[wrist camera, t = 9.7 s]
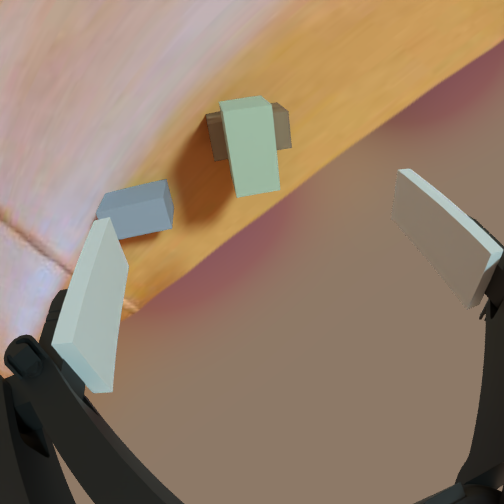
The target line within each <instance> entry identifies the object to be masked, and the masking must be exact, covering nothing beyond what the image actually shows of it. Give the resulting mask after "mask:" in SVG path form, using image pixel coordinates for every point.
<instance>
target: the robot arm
mask: <svg viewBox="0 0 504 504" xmlns="http://www.w3.org/2000/svg"><path fill="white" fill-rule="evenodd" d="M391 220H392V221H393V222H394V223H395V224H396V225H397V226H398V227H399V228H400V229H401V230H402V232H403V233H404V234H405V235H406V236H407V237H408V238H409V239H410V241H411V242H412V243H413V244H414V245H415V246H416V247H417V249H418V250H419V251H420V252H421V253H422V254H423V256H424V257H425V258H426V259H427V260H428V262H429V263H430V264H431V265H432V266H433V267H434V269H435V270H436V271H437V272H438V274H439V275H440V276H441V277H442V279H443V280H444V281H445V282H446V284H447V285H448V286H449V288H450V289H451V290H452V291H453V293H454V294H455V295H456V296H457V298H458V299H459V300H460V302H461V303H462V305H463V306H464V307H465V308H466V309H467V310H468V309H470V308H472V307H475V306H477V305H479V304H480V302H481V300H482V298H483V296H484V294H486V295H487V297H488V298H489V299H488V301H487V303H486V305H485V307H484V309H483V311H482V313H481V314H480V317H479V319H482V317H483V315H484V314H486V318H485V321H486V334H485V353H484V366H483V377H482V386H481V394H480V401H479V408H478V414H477V420H476V425H475V431H474V436H473V440H472V445H471V450H470V454H469V457H468V458H467V460H466V462H465V463H464V465H463V466H462V468H461V470H460V472H459V474H458V476H457V479H456V482H455V485H453V486H451V487H449V488H447V489H445V490H443V491H440V492H438V493H436V494H434V495H432V496H429V497H427V498H425V499H423V500H421V501H418V502H416V503H414V504H504V246H503V245H502V244H501V243H500V242H499V241H498V240H497V239H496V238H495V237H494V236H493V235H492V234H489V232H488V231H487V230H486V229H485V228H483V226H482V225H481V224H480V223H479V222H478V221H476V220H475V219H473V218H472V217H470V216H468V215H466V214H465V213H464V212H463V211H462V210H461V209H459V208H458V207H457V206H456V205H455V204H453V203H452V202H451V201H450V200H449V199H447V198H446V197H445V196H444V195H443V194H442V193H440V192H439V191H438V190H437V189H436V188H434V187H433V186H432V185H431V184H429V183H428V182H427V181H425V180H424V179H423V178H422V177H420V176H419V175H418V174H416V173H415V172H414V171H412V170H411V169H401V170H397V179H396V186H395V194H394V201H393V208H392V214H391ZM128 269H129V265H128V263H127V260H126V258H125V255H124V253H123V250H122V248H121V245H120V243H119V240H118V238H117V235H116V232H115V230H114V227H113V224H112V222H111V219H110V217H108V218H103V219H99V220H95V221H94V222H93V225H92V227H91V229H90V232H89V234H88V237H87V239H86V242H85V244H84V247H83V249H82V252H81V254H80V257H79V260H78V262H77V265H76V268H75V270H74V273H73V276H72V279H71V282H70V285H69V287H68V289H65V290H60V291H59V292H58V294H57V295H56V296H55V298H54V299H53V301H52V303H51V306H50V309H49V314H48V315H47V318H46V323H45V324H44V327H43V330H42V334H41V337H40V340H39V343H38V342H37V341H36V340H35V339H34V338H33V337H32V336H31V335H22V336H19V337H18V338H16V339H14V340H13V341H12V342H11V343H10V344H9V346H8V348H7V349H6V351H5V355H4V363H5V365H6V366H7V367H8V368H9V369H10V370H11V371H12V372H13V374H14V375H13V376H10V377H8V378H5V379H4V378H3V377H2V376H1V375H0V504H76V503H75V501H74V499H73V496H72V494H71V492H70V489H69V487H68V484H67V482H66V479H65V477H64V474H63V472H62V469H61V466H60V463H59V461H58V458H57V455H56V452H55V449H54V446H55V447H56V449H57V450H58V452H59V454H60V455H61V457H62V458H63V460H64V461H65V463H66V464H67V466H68V467H69V469H70V470H71V472H72V473H73V475H74V476H75V478H76V479H77V480H78V482H79V483H80V485H81V486H82V487H83V489H84V490H85V491H86V493H87V494H88V495H89V497H90V498H91V499H92V501H93V502H94V503H95V504H184V503H183V502H182V501H181V500H179V499H178V498H177V497H176V496H175V495H174V494H173V493H172V492H171V491H170V490H168V488H166V487H165V486H164V485H163V484H162V483H161V482H160V481H159V480H158V479H157V478H156V477H155V476H154V475H153V474H152V473H151V472H150V471H149V470H148V469H147V468H146V467H145V466H144V465H143V464H142V463H141V462H140V460H139V459H138V458H137V457H136V456H135V455H134V454H133V453H132V452H131V451H130V450H129V448H128V447H127V446H126V445H125V444H124V443H123V442H122V441H121V439H120V438H119V437H118V436H117V435H116V434H115V433H114V431H113V430H112V429H111V428H110V426H109V425H108V424H107V423H106V422H105V420H104V419H103V418H102V417H101V415H100V414H99V413H98V412H97V410H96V409H95V407H94V406H93V405H92V403H91V402H90V401H89V399H88V398H87V397H86V396H85V395H84V390H85V385H86V386H87V387H88V388H89V389H90V390H91V391H92V393H106V392H113V380H114V368H115V359H116V350H117V341H118V333H119V326H120V318H121V312H122V305H123V298H124V292H125V286H126V280H127V275H128ZM52 442H53V443H52ZM53 444H54V446H53ZM502 485H503V490H502V492H501V491H499V490H497V489H498V488H499V487H500V486H502Z"/></svg>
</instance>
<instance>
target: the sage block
mask: <svg viewBox="0 0 504 504" xmlns="http://www.w3.org/2000/svg"><path fill="white" fill-rule="evenodd" d="M219 105H220V111H221V118H222V124H223V130H224V136H225V142H226V148H227V154H228V160H229V166H230V172H231V177H232V181H233V185H234V188H235V192H236V196H237V198H238V197H244V196H249V195H255V194H260V193H266V192H272V191H277V190H280V182H279V171H278V160H277V150H276V140H275V130H274V120H273V111H272V105H271V104H270V103H269V102H268V101H267V100H265V99H264V98H263V97H262V96H253V97H246V98H240V99H233V100H227V101H221V102H219Z"/></svg>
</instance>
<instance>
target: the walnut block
mask: <svg viewBox="0 0 504 504" xmlns="http://www.w3.org/2000/svg"><path fill="white" fill-rule="evenodd" d="M270 104H271V105H272V111H273V120H274V130H275V140H276V150H281V149H287V148H292V145H291V134H290V124H289V113H288V111H287V110H286V109H285V108H284V107H282V106H281V105H280V104H278V103H270ZM206 118H207V125H208V130H209V135H210V140H211V146H212V151H213V156H214V161H219V160H224V159H228V154H227V148H226V142H225V136H224V130H223V124H222V118H221V111H220V112H215V113H209V114H206Z"/></svg>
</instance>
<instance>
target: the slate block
mask: <svg viewBox="0 0 504 504" xmlns="http://www.w3.org/2000/svg"><path fill="white" fill-rule="evenodd" d="M173 213H174V206H173V202H172V198H171V194H170V191H169V187H168V183H167V179H164V180H160V181H155V182H151V183H146V184H142V185H138V186H134V187H130V188H125V189H121V190H117V191H114V192H110V193H106V194H105V195H104V197H103V199H102V201H101V203H100V206H99V208H98V210H97V212H96V215H97V218H98V220H99V219H103V218H108V217H110V219H111V222H112V224H113V227H114V230H115V232H116V235H117V238H118V240H120V239H124V238H129V237H134V236H138V235H143V234H148V233H153V232H158V231H163V230H167V229H172V223H173Z"/></svg>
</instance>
